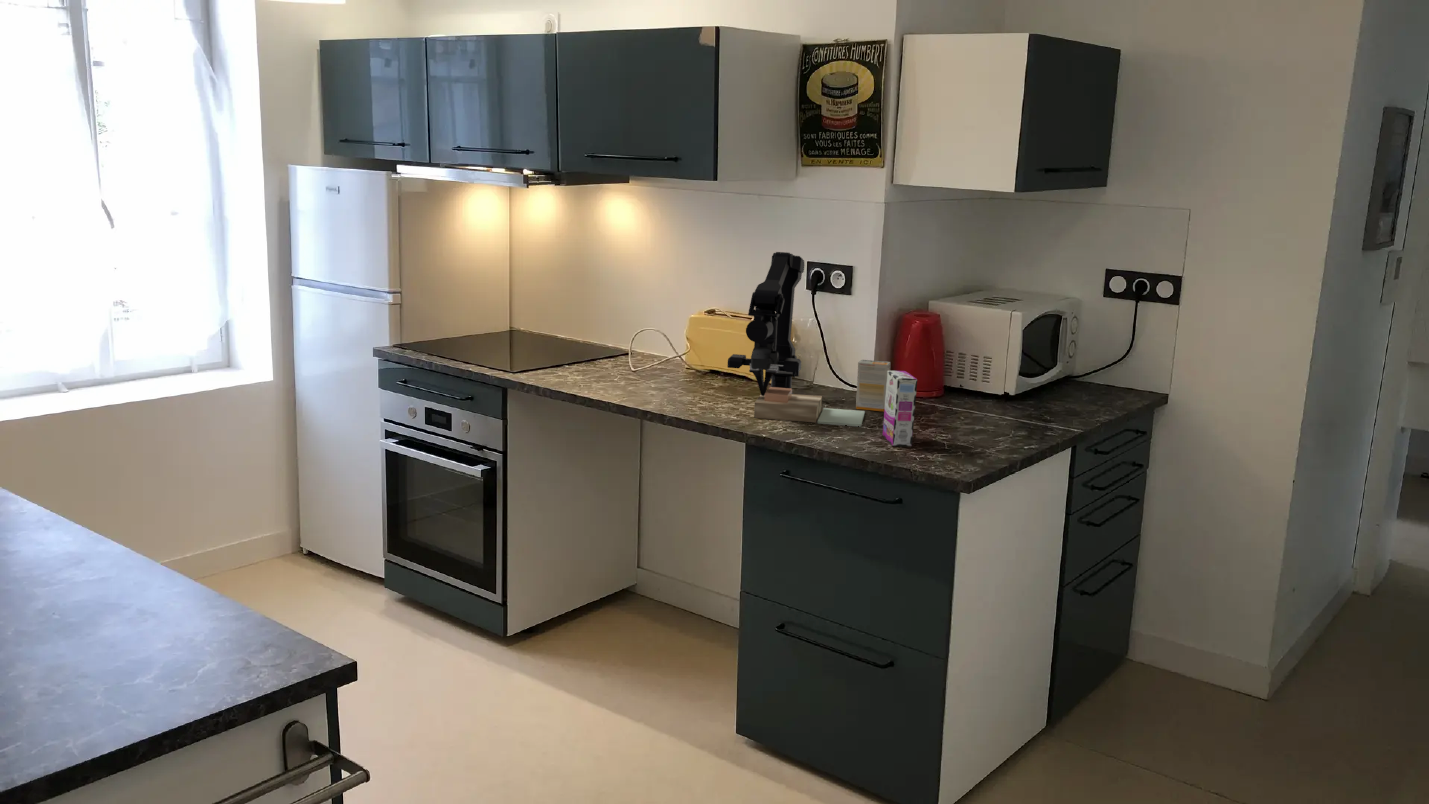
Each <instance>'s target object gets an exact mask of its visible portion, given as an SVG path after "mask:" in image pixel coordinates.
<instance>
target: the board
mask: <svg viewBox="0 0 1429 804" xmlns="http://www.w3.org/2000/svg"><path fill="white" fill-rule="evenodd" d="M764 399H765V395H764V396H761V394H760V395H759V396H758V397H757V399H756V400H755V401H754V407H753V408H754V410H753V411H754V412H753V418H754V419H756V418H757V419H767V420H769V419H770V420H781V421H790V422H791V421H793V422H803V423H804V422H805V423H807V422H808V423H817V422H818V419H819V417H820V415H821V413H822V410H823V408H822V405H823V396H822V395H812V394H811V395H810V394H795V393H793V394H792V396H791V398H790V400H789V401H788V403H783V402H769V401H764Z"/></svg>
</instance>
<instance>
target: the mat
mask: <svg viewBox="0 0 1429 804" xmlns="http://www.w3.org/2000/svg"><path fill="white" fill-rule="evenodd" d="M865 413H866V410H858V409H856V410H853V409H840V408H827V407H826V408H825V407H823V408H822V410H821V413H820V415H819V417H818V419H817V424H819V425H821V424H823V425H831V426H832V425H833V426H845V425H847V426H848V427H858V426H859V427H860V428H861V427H862V426H863V425H862V424H863V420H864V418H865ZM847 426H846V427H847Z"/></svg>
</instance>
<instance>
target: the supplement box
mask: <svg viewBox="0 0 1429 804" xmlns="http://www.w3.org/2000/svg"><path fill="white" fill-rule="evenodd" d="M887 371H891V361H883V360H871V359H870V360H868V359H861V360H859V361H858V362H857V382H856V397H855V398H856V399H855V401H856V402H855V409H856V410H860V411H874V412H883V413H884V409H885V396H886V384H887Z"/></svg>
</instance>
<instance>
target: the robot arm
mask: <svg viewBox="0 0 1429 804" xmlns="http://www.w3.org/2000/svg"><path fill="white" fill-rule="evenodd" d="M804 270H805V260H804V259H803V258H802V257H801V255H794V254H793V253H791V252H787V251H786V252H783V251H775V252H773V254H772V255H771V262H770V266H769V269H768V272H767V274H766V277H765V280H764V281H763V282H760V283H759V284H758V285H756V288H755V289H754V291H753V292H752V295H751V299H750V303H749V309H748V312H747V314H748V316H751V317H753V320H751V321H750V322H748V324H747V325H746V328H745V333H746V337H747V339H749V340H750V341H751V342H753V343H754V345H753V349H752V353H751V356H750V358H747V355H746V354H738V353H737V354H736V353H733V354H732V355H730V356H729V357H728V359H727V368H728V369H740V368H741V367H742V366H749V370H748V372H749V373H752V374H753V375H754V377H755V379H756V382H757V385H758V388H759V393H760V395H761V396H764V395H765V393H766V391H767V390H768V389H769V385H770V387H777V388H791V389H792V379H793V378H796V377H799V376H800V371H801V370H802V360H801V359H800V358H797V355H796V348H795V346H794V344H793V342H792V340H791V338H792V328H793V327H792V325H793V313H794V302H795V292H796V291H795V290H796V288H797V285H798V284H799V283H800V281H801V280H802V275H803V273H804V272H805V271H804ZM792 394H794V392H792Z"/></svg>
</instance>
